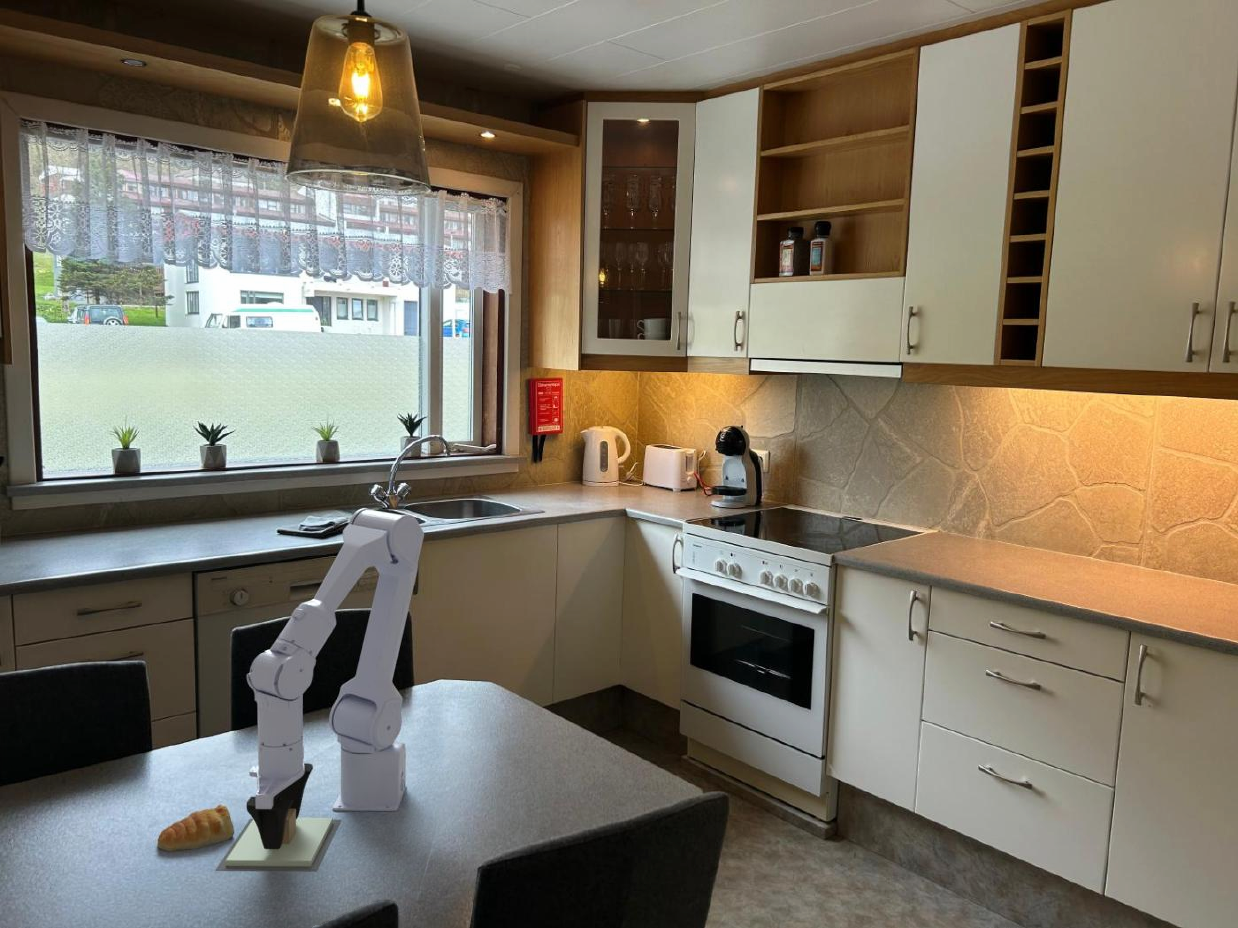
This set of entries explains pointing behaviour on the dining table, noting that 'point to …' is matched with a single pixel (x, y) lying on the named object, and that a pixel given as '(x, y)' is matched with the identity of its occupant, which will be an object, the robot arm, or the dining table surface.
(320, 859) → the mat
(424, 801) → the dining table surface
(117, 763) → the dining table surface
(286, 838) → the cover
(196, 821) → the pastry
